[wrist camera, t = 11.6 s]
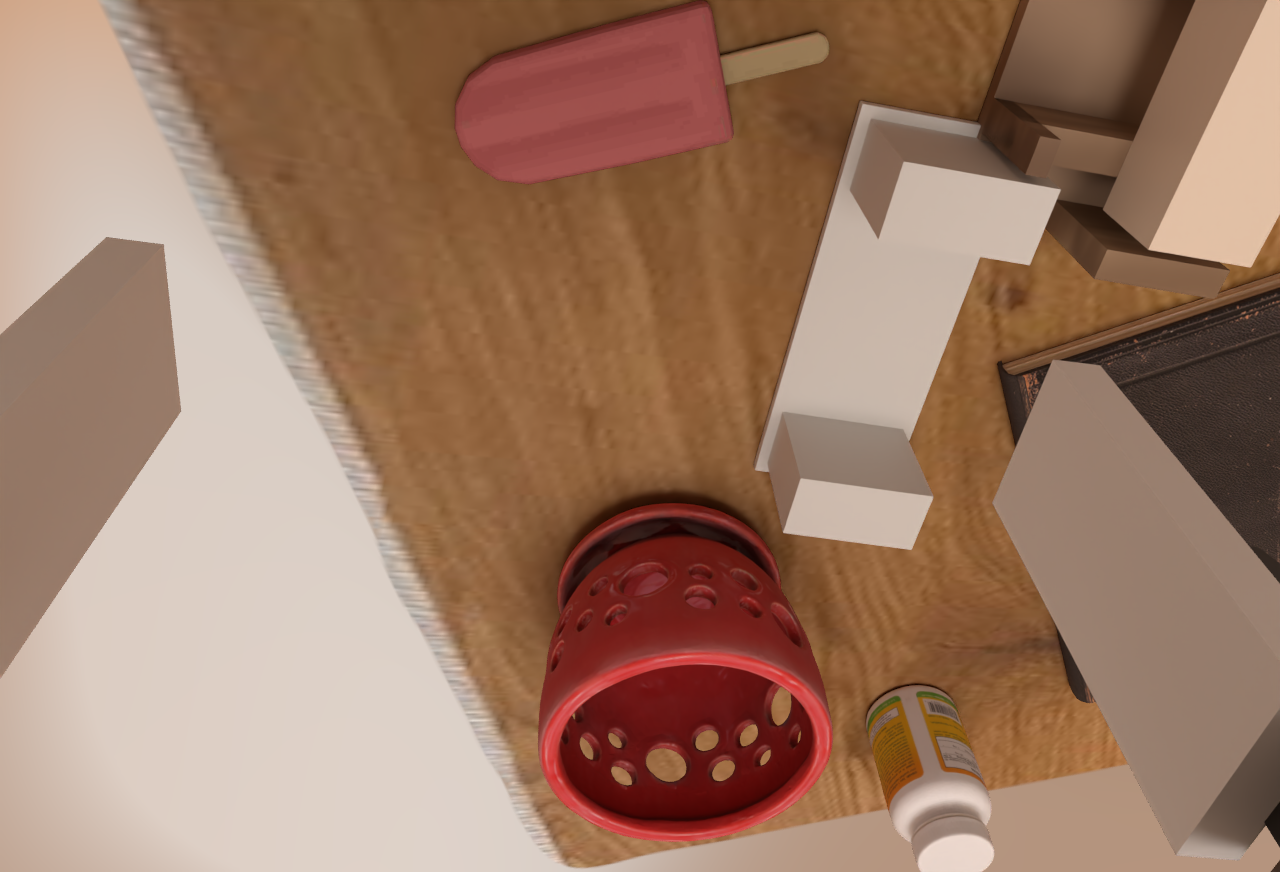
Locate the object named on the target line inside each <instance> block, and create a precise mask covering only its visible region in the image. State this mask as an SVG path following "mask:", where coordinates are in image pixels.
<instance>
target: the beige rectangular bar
mask: <svg viewBox="0 0 1280 872" xmlns="http://www.w3.org/2000/svg"><path fill="white" fill-rule="evenodd" d="M1103 211H1105V212H1106V213H1107V214H1108V215H1109V216H1110V217H1111V218H1113V219H1114V220H1115V221H1116V222H1117V223H1118V224H1119V225H1121V226H1122V227H1123V228H1124V229H1125V230H1126V231H1127V232H1129V233H1130V234H1131V235H1132V236H1133V237H1134V238H1135V239H1137V240H1138V241H1139V242H1140V243H1141V244H1142V245H1143V246H1145V247H1146V248H1147V249H1148V250H1153V251H1158V252H1164V253H1170V254H1176V255H1182V256H1187V257H1193V258H1199V259H1205V260H1211V261H1216V262H1222V263H1228V264H1234V265H1239V266H1245V267H1251V266H1252V264H1253V263H1254V261H1255V259H1256V257H1257V255H1258V253H1259V251H1260V250H1261V248H1262V246H1263V244H1264V242H1265V240H1266V238H1267V237H1268V235H1269V233H1270V231H1271V229H1272V227H1273V225H1274V224H1275V222H1276V220H1277V218H1278V216H1279V214H1280V0H1195V3H1194V5H1193V7H1192V9H1191V12H1190V14H1189V16H1188V18H1187V21H1186V23H1185V25H1184V27H1183V30H1182V32H1181V34H1180V36H1179V39H1178V41H1177V43H1176V45H1175V48H1174V50H1173V52H1172V55H1171V57H1170V59H1169V61H1168V64H1167V66H1166V68H1165V70H1164V73H1163V75H1162V77H1161V79H1160V82H1159V84H1158V86H1157V88H1156V91H1155V93H1154V95H1153V97H1152V100H1151V102H1150V104H1149V107H1148V109H1147V111H1146V113H1145V116H1144V118H1143V120H1142V122H1141V125H1140V127H1139V129H1138V131H1137V134H1136V136H1135V138H1134V140H1133V143H1132V145H1131V147H1130V149H1129V152H1128V154H1127V156H1126V159H1125V161H1124V163H1123V165H1122V168H1121V170H1120V172H1119V174H1118V177H1117V179H1116V181H1115V183H1114V186H1113V188H1112V190H1111V192H1110V195H1109V197H1108V199H1107V201H1106V204H1105V206H1104V208H1103Z"/></svg>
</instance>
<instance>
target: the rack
mask: <svg viewBox="0 0 1280 872" xmlns="http://www.w3.org/2000/svg"><path fill="white" fill-rule="evenodd" d="M1194 3H1195V0H1021V1H1020V4H1019V7H1018V9H1017V12H1016V15H1015V18H1014V21H1013V24H1012V26H1011V29H1010V32H1009V35H1008V38H1007V40H1006V43H1005V46H1004V49H1003V52H1002V54H1001V57H1000V60H999V63H998V66H997V68H996V71H995V74H994V77H993V80H992V82H991V85H990V88H989V91H988V94H987V96H986V99H985V102H984V105H983V108H982V110H981V113H980V116H979V119H978V123H979V124H980V125H981V127H980V130H979V133H978V135H977V139H978V140H982V141H987V142H992V143H993V144H994V145H995V146H996V147H997V148H998V149H999V150H1000V151H1001V152H1002V153H1003V154H1004V155H1005V156H1006V157H1008V158H1009V159H1010V160H1011V161H1012V162H1013V163H1014V164H1015V165H1016V166H1017V167H1018V168H1019V169H1020V170H1021V171H1022V172H1023V173H1024V174H1025V175H1030V176H1036V177H1042V178H1047V177H1048V178H1049V179H1050V180H1051V181H1052V182H1053V183H1054V184H1056V185H1057V186H1058V187H1059V188H1060V189H1061V191H1060V193H1059V196H1058V198H1057V200H1056V203H1055V205H1054V208H1053V210H1052V212H1051V215H1050V217H1049V220H1048V222H1047V225H1046V227H1045V228H1046V229H1047V230H1048V232H1049V233H1050V234H1051V235H1052V236H1053V237H1054V238H1055V239H1056V240H1057V241H1058V242H1059V243H1060V244H1061V245H1062V246H1063V247H1064V248H1065V249H1066V250H1067V251H1068V252H1069V253H1070V254H1071V255H1072V256H1073V257H1074V258H1075V259H1076V261H1077V262H1078V263H1079V264H1080V265H1081V266H1082V267H1083V268H1084V269H1085V270H1086V271H1087V272H1088V273H1089V274H1090V275H1091V276H1092V277H1093V278H1094V279H1098V280H1104V281H1110V282H1116V283H1122V284H1128V285H1134V286H1140V287H1146V288H1152V289H1158V290H1164V291H1170V292H1176V293H1182V294H1188V295H1193V296H1199V297H1205V298H1211V299H1215V298H1216V296H1217V294H1218V292H1219V291H1220V289H1221V287H1222V285H1223V283H1224V281H1225V279H1226V277H1227V275H1228V274H1229V272H1230V270H1229V269H1227V268H1226V267H1225V266H1224V265H1222V264H1221V263H1220V262H1216V261H1211V260H1205V259H1199V258H1193V257H1187V256H1182V255H1176V254H1170V253H1164V252H1158V251H1153V250H1148V249H1147V248H1146V247H1145V246H1143V245H1142V244H1141V243H1140V242H1139V241H1138V240H1137V239H1135V238H1134V237H1133V236H1132V235H1131V234H1130V233H1129V232H1127V231H1126V230H1125V229H1124V228H1123V227H1122V226H1121V225H1119V224H1118V223H1117V222H1116V221H1115V220H1114V219H1113V218H1111V217H1110V216H1109V215H1108V214H1107V213H1106V212H1105V211H1103V208H1104V206H1105V204H1106V201H1107V199H1108V197H1109V195H1110V192H1111V190H1112V188H1113V186H1114V183H1115V181H1116V179H1117V177H1118V174H1119V172H1120V170H1121V168H1122V165H1123V163H1124V161H1125V159H1126V156H1127V154H1128V152H1129V149H1130V147H1131V145H1132V143H1133V140H1134V138H1135V136H1136V134H1137V131H1138V129H1139V127H1140V125H1141V122H1142V120H1143V118H1144V116H1145V113H1146V111H1147V109H1148V107H1149V104H1150V102H1151V100H1152V97H1153V95H1154V93H1155V91H1156V88H1157V86H1158V84H1159V82H1160V79H1161V77H1162V75H1163V73H1164V70H1165V68H1166V66H1167V64H1168V61H1169V59H1170V57H1171V55H1172V52H1173V50H1174V48H1175V45H1176V43H1177V41H1178V39H1179V36H1180V34H1181V32H1182V30H1183V27H1184V25H1185V23H1186V21H1187V18H1188V16H1189V14H1190V12H1191V9H1192V7H1193V5H1194Z"/></svg>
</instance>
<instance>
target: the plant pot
mask: <svg viewBox="0 0 1280 872" xmlns="http://www.w3.org/2000/svg"><path fill="white" fill-rule="evenodd" d="M557 600H558V608H559V612H560V615H561V616H560V618H559V621H558V623H557V625H556V628H555V631H554V634H553V637H552V640H551V643H550V647H549V652H548V657H547V668H546V675H545V680H544V685H543V690H542V696H541V702H540V713H539V731H538V751H539V760H540V764H541V769H542V771H543V774H544V776H545V779H546V781H547V783H548V785H549V786H550V788H551V789H552V791H553V792H554V793H555V795H556V796H557V797H558V798H559V799H560V800H561V801H562V802H563V803H564V804H565V805H566V806H567V807H568V808H569V809H571V810H572V811H573V812H575V813H576V814H578V815H579V816H581V817H582V818H584V819H585V820H587V821H589V822H590V823H592V824H595V825H597V826H599V827H601V828H603V829H606V830H608V831H611V832H614V833H617V834H620V835H623V836H628V837H633V838H638V839H644V840H653V841H669V842H679V841H696V840H704V839H711V838H717V837H722V836H726V835H730V834H733V833H737V832H740V831H743V830H745V829H748V828H751V827H753V826H755V825H758V824H760V823H762V822H765V821H767V820H769V819H771V818H773V817H775V816H776V815H778V814H780V813H781V812H783V811H785V810H786V809H788V808H789V807H790V806H792V805H793V804H794V803H796V802H797V801H798V800H799V799H800V798H801V797H802V796H803V795H805V794H806V793H807V792H808V791H809V790H810V788H811V787H812V786H813V785H814V784H815V782H816V781H817V780H818V778H819V777H820V776H821V774H822V772H823V770H824V768H825V767H826V765H827V763H828V760H829V757H830V753H831V750H832V743H833V728H832V721H831V717H830V712H829V707H828V703H827V698H826V694H825V689H824V685H823V682H822V679H821V675H820V672H819V669H818V666H817V664H816V661H815V658H814V656H813V653H812V650H811V646H810V643H809V641H808V638H807V636H806V634H805V632H804V630H803V628H802V626H801V624H800V622H799V620H798V618H797V616H796V614H795V612H794V610H793V608H792V607H791V605H790V603H789V601H788V600H787V598H786V597H785V596H784V594H783V593H782V591H781V580H780V575H779V570H778V567H777V564H776V561H775V559H774V557H773V555H772V553H771V551H770V549H769V548H768V546H767V545H766V544H765V542H764V541H763V540H762V539H761V538H760V537H759V535H758V534H757V533H755V532H754V531H753V530H752V529H751V528H749V527H748V526H747V525H745V524H744V523H742V522H741V521H739V520H738V519H736V518H734V517H732V516H729V515H727V514H726V513H724V512H721V511H718V510H715V509H711V508H707V507H704V506H699V505H693V504H682V503H663V504H653V505H647V506H642V507H638V508H633V509H630V510H628V511H625V512H623V513H620V514H618V515H616V516H614V517H612V518H611V519H609V520H607V521H605V522H604V523H602V524H601V525H599V526H598V527H596V528H595V529H594V530H593V531H591V532H590V533H589V534H588V535H587V536H585V537H584V538H583V539H582V540H581V541H580V542H579V544H578V545H577V546H576V547H575V548H574V550H573V551H572V552H571V554H570V555H569V557H568V558H567V560H566V562H565V564H564V566H563V569H562V572H561V575H560V578H559V582H558V590H557ZM780 687H783V688H784V689H786V690H787V691H788V692H790V693H791V702H792V703H791V711H790V714H789V716H788V718H787V720H786V721H785V722H784V723H783V724H781V725H780V726H777V725H776V724H775V723H774V721H773V719H772V714H771V705H772V701H773V698H774V696H775V694H776V693H777V691H778V689H779V688H780ZM574 712H575V720H574V718H573V717H572V715H573V714H574ZM752 724H755V725H756V726H757V728H758V736H757V738H756V740H755V741H754V742H753V743H751V744H750V745H748V746H744V747H743V746H742V745H741V743H740V736H741V733H742V732H743V730H744V729H745V728H746V727H747V726H749V725H752ZM706 730H713V731H715V732H717V734H718V735H719V741H718V744H717V745H716V746H715V748H713V749H711V750H708V751H700V750H698V749H697V748H696V745H695V742H696V738H697V736H698V735H699V734H700V733H701V732H704V731H706ZM800 730H801V738H800V741H799V743H798V735H799V732H800ZM609 733H613V734H615V735H616V736H618V737H619V739H620V741H621V743H622V746H621V748H616V747H614V746H613V745H612V744H611V743H610V741H609V739H608V734H609ZM581 737H582V738H584V739H585V740H586V741H587V742H588V743H589V744H590V746H591V748H592V750H593V760H590V759H588V758H587V757H585V755H584V754H583V752H582V750H581V748H580V738H581ZM659 748H665V749H670V750H673V751H675V752H677V753H678V754H680V755H681V756H682V757H683V759H684V760H685V762H686V767H687V768H686V774H685V775H684V776H683V777H682V778H681V779H680V780H678V781H674V782H666V781H662V780H660V779H658V778H657V777H655V776H654V774H653V773H651V772H650V771H649V769H648V768H647V766H646V758H647V755H648V754H649V753H650V752H651V751H652V750H655V749H659ZM767 750H771V756H770V759H769V760H768V762H767V763H766V764H764V765H762V766H761V765H760V760H761V757H762V755H763V754H764V753H765V752H766V751H767ZM724 760H730V761H733V762H734V764H735V770H734V772H733V774H732V775H731V776H730V777H729V778H728V779H726V780H724V781H715V780H714V779H713V777H712V772H713V769H714V767H715V766H716V765H717V764H718V763H719V762H721V761H724ZM614 766H617V767H621V768H623V769H624V770H626V771H627V772H628V773H629V775H630V776H631V779H632V785H628V786H627V785H622V784H620V783H618V782H617V781H616V780H615V779H614V777H613V776H612V773H611V768H612V767H614Z"/></svg>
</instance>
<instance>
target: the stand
mask: <svg viewBox="0 0 1280 872" xmlns="http://www.w3.org/2000/svg"><path fill="white" fill-rule="evenodd" d="M980 127H981V125H980V124H979V123H978V122H974V121H968V120H963V119H958V118H952V117H947V116H941V115H936V114H931V113H925V112H920V111H914V110H909V109H904V108H898V107H893V106H887V105H882V104H876V103H871V102H866V101H860V103H859V106H858V109H857V113H856V116H855V120H854V123H853V127H852V130H851V133H850V137H849V140H848V144H847V147H846V150H845V154H844V157H843V161H842V164H841V168H840V171H839V174H838V178H837V181H836V185H835V188H834V192H833V195H832V198H831V202H830V205H829V209H828V212H827V215H826V219H825V222H824V226H823V229H822V233H821V236H820V239H819V243H818V246H817V250H816V253H815V256H814V260H813V263H812V267H811V270H810V274H809V277H808V280H807V284H806V287H805V291H804V294H803V297H802V301H801V304H800V308H799V311H798V315H797V318H796V321H795V325H794V328H793V332H792V335H791V338H790V342H789V345H788V349H787V352H786V356H785V359H784V362H783V366H782V369H781V373H780V376H779V380H778V383H777V386H776V390H775V393H774V397H773V400H772V403H771V407H770V410H769V414H768V417H767V421H766V424H765V427H764V431H763V434H762V438H761V441H760V444H759V448H758V451H757V455H756V458H755V462H754V469H755V470H757V471H764V472H769V473H770V478H771V482H772V487H773V491H774V495H775V500H776V504H777V509H778V513H779V517H780V522H781V526H782V530H783V533H788V534H796V535H803V536H811V537H818V538H826V539H833V540H841V541H849V542H856V543H864V544H871V545H879V546H886V547H894V548H902V549H909V550H912V547H913V545H914V543H915V540H916V538H917V535H918V533H919V531H920V528H921V526H922V523H923V521H924V519H925V516H926V514H927V511H928V509H929V507H930V504H931V502H932V499H933V494H932V492H931V490H930V488H929V486H928V483H927V481H926V479H925V477H924V474H923V472H922V470H921V468H920V465H919V463H918V461H917V459H916V457H915V454H914V452H913V450H912V448H911V445H910V443H909V440H910V438H911V435H912V432H913V430H914V427H915V425H916V422H917V419H918V417H919V414H920V412H921V409H922V406H923V404H924V401H925V399H926V396H927V394H928V391H929V388H930V386H931V383H932V381H933V378H934V375H935V373H936V370H937V368H938V365H939V362H940V360H941V357H942V355H943V352H944V349H945V347H946V344H947V342H948V339H949V336H950V334H951V331H952V329H953V326H954V323H955V321H956V318H957V316H958V313H959V310H960V308H961V305H962V303H963V300H964V297H965V295H966V292H967V290H968V287H969V285H970V282H971V279H972V277H973V274H974V272H975V269H976V266H977V264H978V261H979V259H980V257H984V258H990V259H996V260H1002V261H1008V262H1014V263H1019V264H1025V265H1030V263H1031V261H1032V258H1033V256H1034V253H1035V251H1036V249H1037V246H1038V244H1039V241H1040V239H1041V237H1042V234H1043V232H1044V229H1045V227H1046V225H1047V222H1048V220H1049V217H1050V215H1051V212H1052V210H1053V208H1054V205H1055V203H1056V200H1057V198H1058V196H1059V193H1060V191H1061V189H1060V188H1059V187H1058V186H1057V185H1056V184H1054V183H1053V182H1052V181H1051V180H1050V179H1049V178H1048V177H1047V178H1042V177H1036V176H1030V175H1025V174H1024V173H1023V172H1022V171H1021V170H1020V169H1019V168H1018V167H1017V166H1016V165H1015V164H1014V163H1013V162H1012V161H1011V160H1010V159H1009V158H1008V157H1006V156H1005V155H1004V154H1003V153H1002V152H1001V151H1000V150H999V149H998V148H997V147H996V146H995V145H994V144H993V143H992V142H987V141H982V140H978V139H977V135H978V133H979V130H980Z"/></svg>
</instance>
